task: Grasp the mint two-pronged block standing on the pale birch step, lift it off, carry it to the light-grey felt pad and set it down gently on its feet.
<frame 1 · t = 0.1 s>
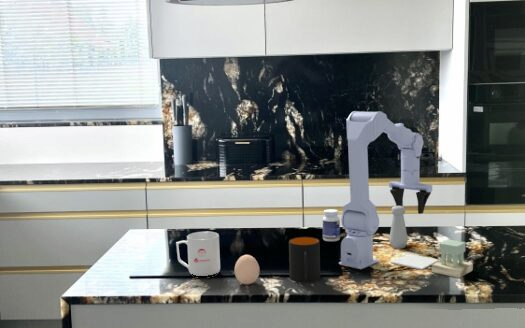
hand: (410, 211, 191), 10 cm above the countertop, fingers open, 7 cm apart
step: (452, 271, 163), on the countertop
pad: (414, 262, 172), on the countertop
mug 2: (305, 280, 160), on the countertop
salt shaker: (398, 247, 188), on the countertop
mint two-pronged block: (452, 264, 162), point 2 cm above the countertop, touching step
mug: (199, 274, 168), on the countertop
pill bottle: (331, 240, 199), on the countertop
egg: (247, 284, 158), on the countertop
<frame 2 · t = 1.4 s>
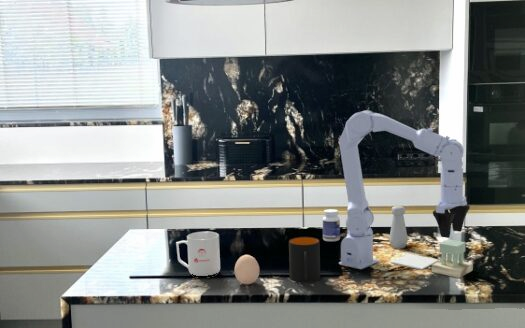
hand: (451, 234, 162), 10 cm above the countertop, fingers open, 7 cm apart
nothing on the countertop moved.
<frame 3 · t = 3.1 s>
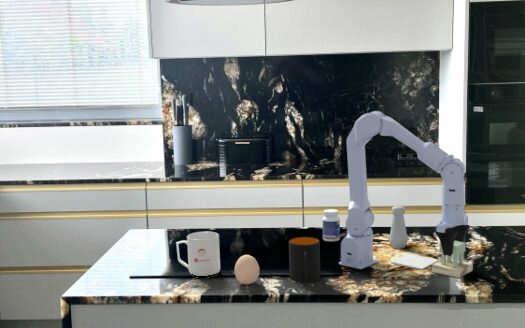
hand: (452, 252, 162), 5 cm above the countertop, fingers closed on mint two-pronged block, 5 cm apart
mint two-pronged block: (452, 264, 162), point 2 cm above the countertop, touching gripper, step
everything else where it was.
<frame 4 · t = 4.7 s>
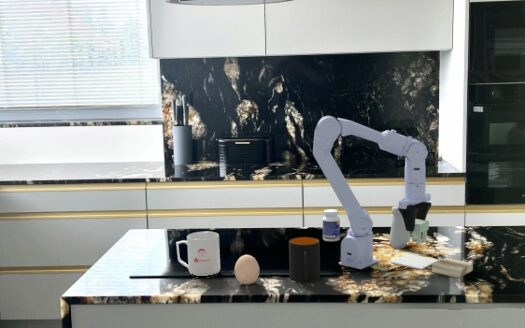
hand: (414, 228, 170), 10 cm above the countertop, fingers closed on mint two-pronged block, 5 cm apart
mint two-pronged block: (416, 241, 170), point 6 cm above the countertop, touching gripper
everything else where it was.
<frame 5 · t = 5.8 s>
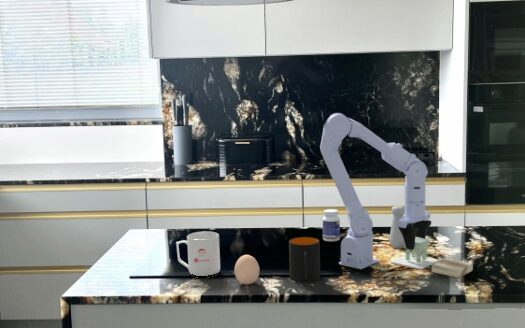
hand: (414, 247, 171), 4 cm above the countertop, fingers closed on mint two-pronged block, 5 cm apart
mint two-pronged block: (416, 259, 171), point 1 cm above the countertop, touching gripper
everything else where it was.
when the fingers open (4 cm above the countertop, at t = 6.5 s): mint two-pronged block stays where it is, resting on pad.
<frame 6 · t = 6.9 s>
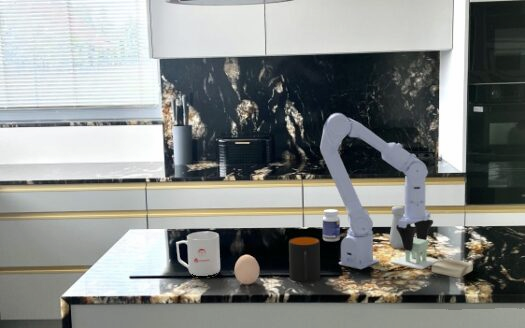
hand: (414, 247, 171), 5 cm above the countertop, fingers open, 7 cm apart
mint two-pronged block: (416, 260, 171), resting on pad
everything else where it was.
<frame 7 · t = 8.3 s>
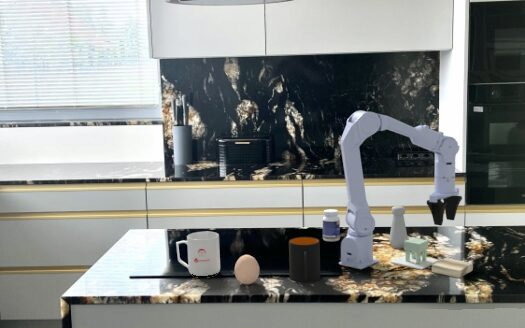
hand: (444, 222, 174), 10 cm above the countertop, fingers open, 7 cm apart
nothing on the countertop moved.
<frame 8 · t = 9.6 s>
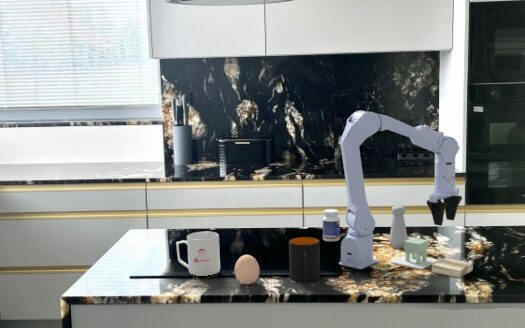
hand: (444, 222, 174), 10 cm above the countertop, fingers open, 7 cm apart
nothing on the countertop moved.
at the end: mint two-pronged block inside the target area on the pad (0.4 cm from its centre), point 0.4 cm above the pad's base; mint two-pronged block tilted 0°; the gripper is holding nothing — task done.
